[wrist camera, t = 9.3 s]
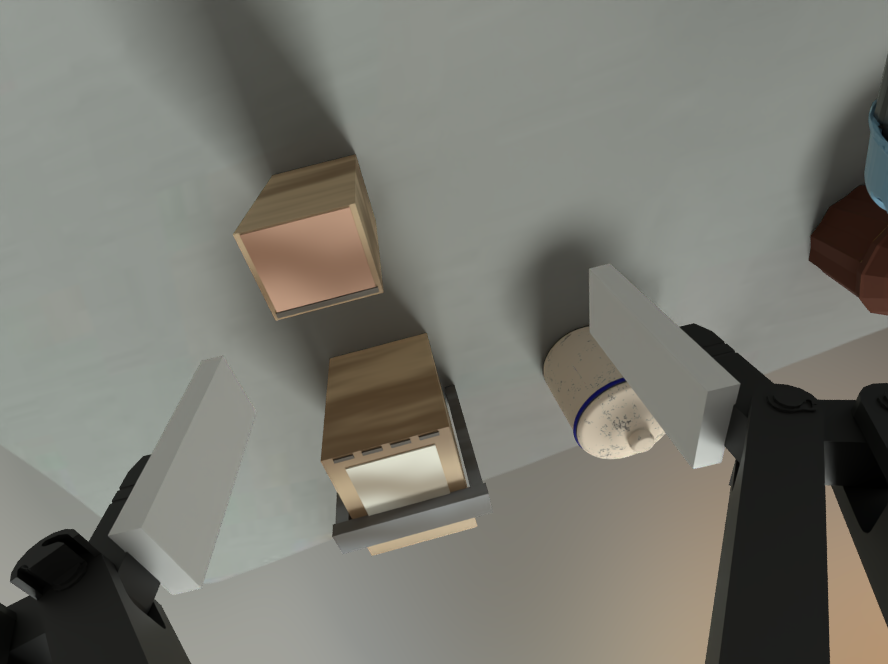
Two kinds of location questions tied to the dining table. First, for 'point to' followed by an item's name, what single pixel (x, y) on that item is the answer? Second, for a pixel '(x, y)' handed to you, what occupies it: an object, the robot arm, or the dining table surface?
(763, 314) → the dining table surface
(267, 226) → the pink-ended wooden block
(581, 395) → the teacup with lid
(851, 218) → the muffin
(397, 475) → the tan wooden crate
